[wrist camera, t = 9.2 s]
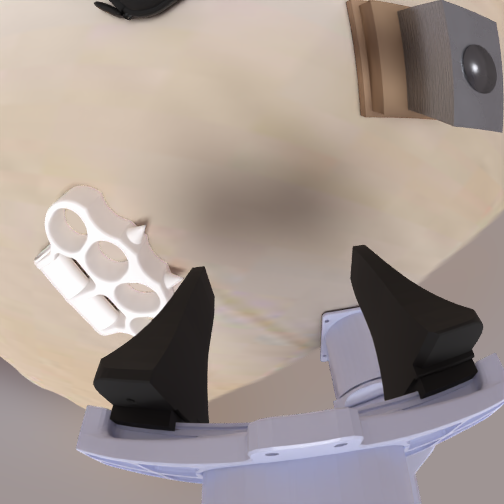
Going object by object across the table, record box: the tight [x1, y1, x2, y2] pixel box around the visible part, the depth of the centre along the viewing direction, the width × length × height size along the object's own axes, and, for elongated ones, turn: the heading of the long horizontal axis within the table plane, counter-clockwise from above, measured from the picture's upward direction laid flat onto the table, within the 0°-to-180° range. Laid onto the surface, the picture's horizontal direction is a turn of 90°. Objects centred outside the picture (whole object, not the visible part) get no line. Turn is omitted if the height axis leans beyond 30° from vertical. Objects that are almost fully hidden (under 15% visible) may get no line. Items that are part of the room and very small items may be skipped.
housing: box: [397, 0, 503, 132], centre depth 10 cm, size 4×7×5 cm, turn 9°
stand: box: [346, 0, 436, 120], centre depth 13 cm, size 9×9×3 cm
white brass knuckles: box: [34, 185, 184, 336], centre depth 24 cm, size 3×18×15 cm
